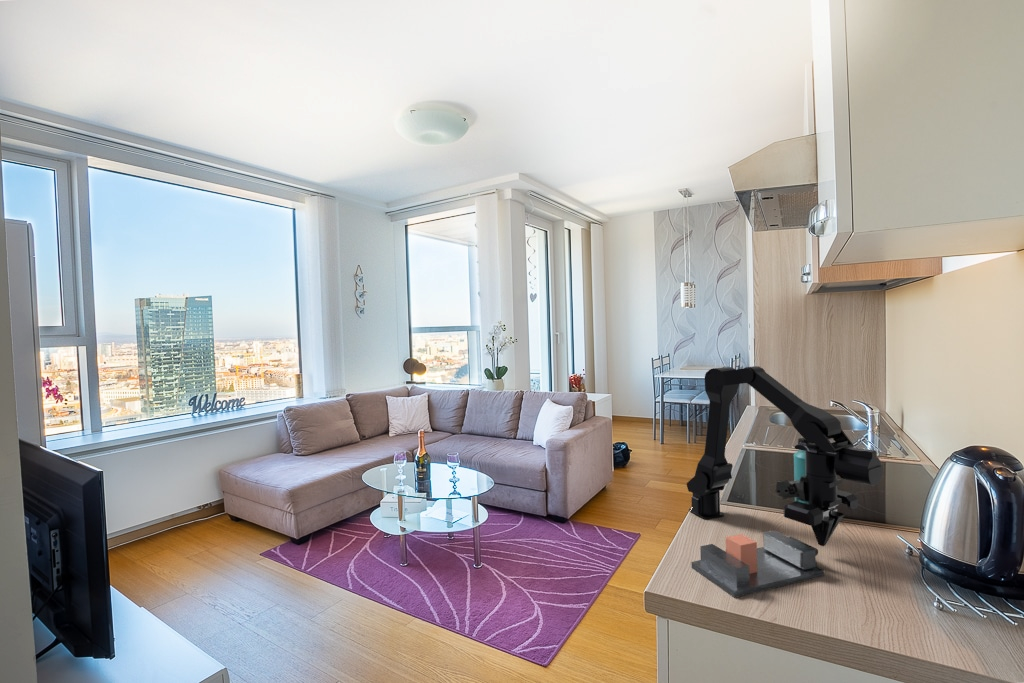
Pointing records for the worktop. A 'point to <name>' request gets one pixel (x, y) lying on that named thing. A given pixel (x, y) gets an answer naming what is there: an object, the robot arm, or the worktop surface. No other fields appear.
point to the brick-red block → (743, 550)
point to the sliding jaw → (790, 549)
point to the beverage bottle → (799, 467)
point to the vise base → (736, 573)
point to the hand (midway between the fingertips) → (821, 545)
